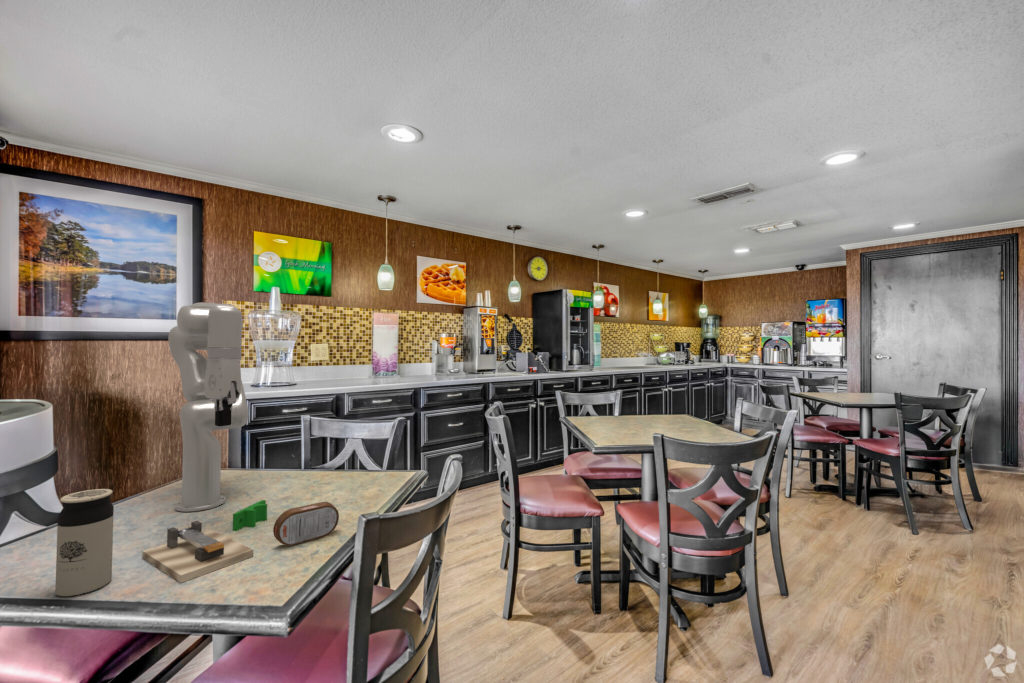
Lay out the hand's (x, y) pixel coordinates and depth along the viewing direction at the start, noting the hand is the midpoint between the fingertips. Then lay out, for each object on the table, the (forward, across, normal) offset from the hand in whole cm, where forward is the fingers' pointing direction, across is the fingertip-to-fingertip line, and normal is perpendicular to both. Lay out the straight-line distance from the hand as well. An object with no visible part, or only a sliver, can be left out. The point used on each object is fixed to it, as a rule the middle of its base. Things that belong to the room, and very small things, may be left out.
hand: (223, 425), depth 116 cm
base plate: (+27, +12, -10) cm, 31 cm away
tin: (+27, +24, +9) cm, 38 cm away
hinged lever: (+24, +12, -10) cm, 29 cm away
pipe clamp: (+28, +2, +7) cm, 29 cm away
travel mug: (+27, +8, -28) cm, 40 cm away
